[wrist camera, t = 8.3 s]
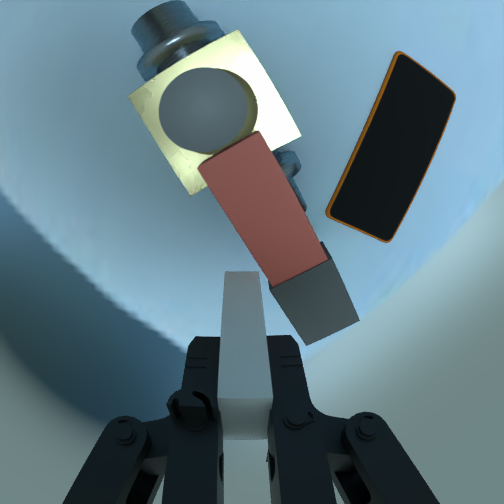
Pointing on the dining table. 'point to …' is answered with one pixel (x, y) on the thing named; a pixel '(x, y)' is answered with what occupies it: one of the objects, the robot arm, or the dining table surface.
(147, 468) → the robot arm
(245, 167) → the lever
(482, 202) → the dining table surface
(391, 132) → the smartphone
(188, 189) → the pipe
